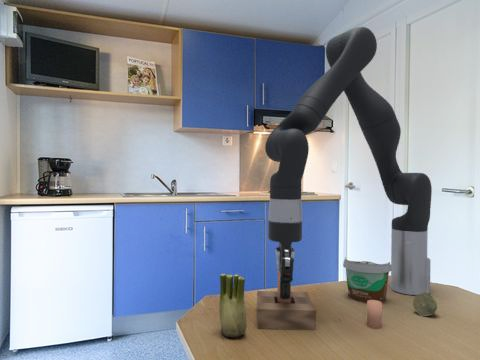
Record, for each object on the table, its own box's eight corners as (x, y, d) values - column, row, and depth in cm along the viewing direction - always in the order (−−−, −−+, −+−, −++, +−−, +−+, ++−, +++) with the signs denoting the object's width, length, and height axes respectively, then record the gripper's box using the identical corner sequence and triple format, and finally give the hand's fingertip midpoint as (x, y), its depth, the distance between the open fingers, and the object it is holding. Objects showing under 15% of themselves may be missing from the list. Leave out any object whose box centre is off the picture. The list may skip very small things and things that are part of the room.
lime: (439, 319, 80) (439, 297, 80) (416, 317, 81) (416, 295, 81) (433, 312, 84) (433, 291, 84) (411, 310, 85) (411, 289, 85)
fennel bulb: (215, 331, 73) (216, 272, 73) (237, 326, 75) (237, 269, 75) (228, 342, 68) (229, 279, 68) (250, 337, 70) (251, 276, 70)
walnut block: (306, 308, 86) (307, 292, 86) (315, 329, 74) (315, 310, 74) (257, 307, 86) (257, 290, 86) (257, 328, 74) (258, 309, 74)
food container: (338, 299, 92) (338, 261, 92) (343, 293, 98) (343, 256, 98) (389, 308, 86) (389, 267, 86) (391, 300, 92) (392, 262, 92)
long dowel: (289, 307, 81) (290, 263, 81) (291, 312, 78) (291, 266, 78) (276, 306, 81) (277, 263, 81) (277, 311, 78) (278, 266, 78)
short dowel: (378, 322, 78) (379, 299, 78) (383, 328, 75) (384, 304, 75) (365, 322, 78) (365, 299, 78) (369, 328, 75) (369, 304, 75)
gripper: (306, 223, 73) (305, 307, 73) (298, 216, 87) (297, 286, 87) (270, 222, 73) (268, 306, 73) (267, 215, 87) (266, 286, 87)
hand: (284, 295), depth 80 cm, fingers closed on long dowel, 3 cm apart
